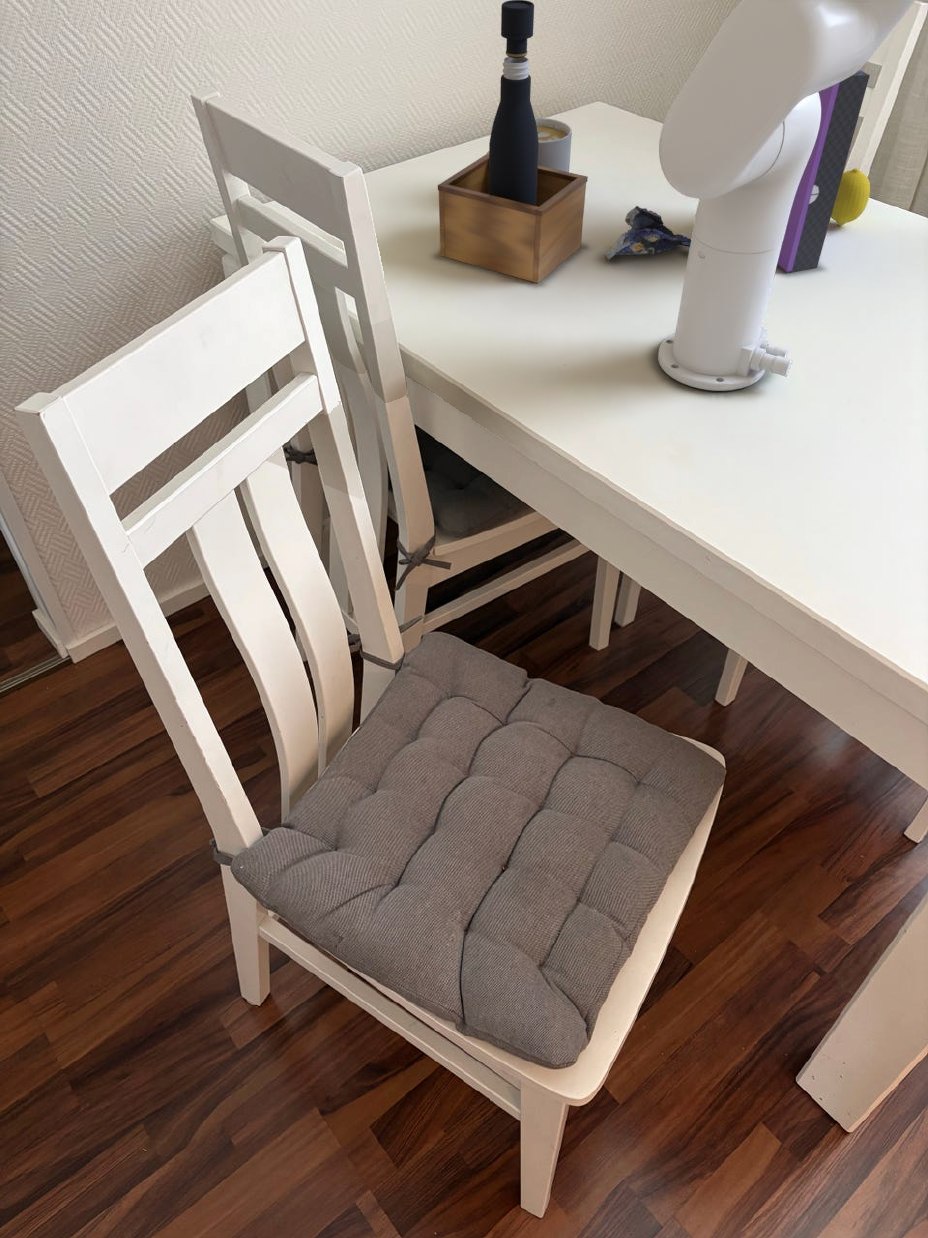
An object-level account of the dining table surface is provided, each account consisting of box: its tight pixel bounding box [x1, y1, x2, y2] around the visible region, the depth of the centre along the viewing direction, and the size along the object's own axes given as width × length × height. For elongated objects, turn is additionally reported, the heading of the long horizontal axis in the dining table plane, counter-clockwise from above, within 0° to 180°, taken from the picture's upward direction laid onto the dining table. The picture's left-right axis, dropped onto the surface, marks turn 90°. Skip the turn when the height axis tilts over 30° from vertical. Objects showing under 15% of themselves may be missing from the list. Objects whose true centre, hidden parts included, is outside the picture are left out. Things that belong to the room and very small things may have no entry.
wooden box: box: [437, 153, 589, 284], centre depth 129 cm, size 16×13×10 cm
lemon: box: [831, 167, 871, 227], centre depth 135 cm, size 6×6×8 cm
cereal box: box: [777, 69, 871, 274], centre depth 125 cm, size 17×5×24 cm, turn 18°
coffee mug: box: [486, 117, 573, 173], centre depth 141 cm, size 13×10×10 cm
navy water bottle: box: [488, 0, 539, 206], centre depth 122 cm, size 6×6×30 cm
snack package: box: [604, 205, 691, 261], centre depth 131 cm, size 12×6×12 cm
